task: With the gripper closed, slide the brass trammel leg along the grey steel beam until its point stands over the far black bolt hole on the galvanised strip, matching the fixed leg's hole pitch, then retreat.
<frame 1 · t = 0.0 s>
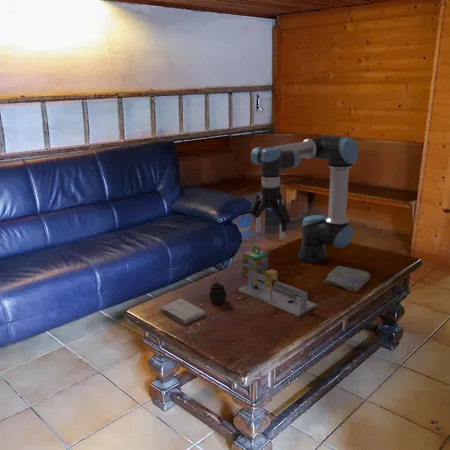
hand: (269, 234, 201), 28 cm above the table, fingers open, 13 cm apart
grey stone slab: (345, 282, 222), on the table
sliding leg: (271, 282, 205), point 7 cm above the table, slide at -3.0 cm
combination wrench: (282, 295, 208), resting on trammel beam
washcloth: (182, 314, 194), on the table
mate gourd: (217, 301, 204), on the table
trammel beam: (276, 298, 205), on the table
chalk box: (255, 275, 230), on the table
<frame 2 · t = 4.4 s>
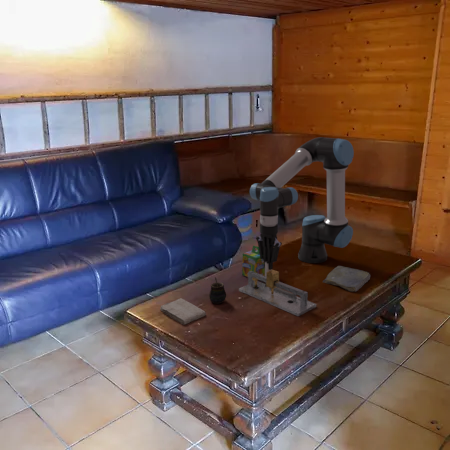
hand: (268, 275, 206), 9 cm above the table, fingers closed
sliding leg: (272, 282, 205), point 7 cm above the table, slide at -2.1 cm, touching gripper
everything else where it was.
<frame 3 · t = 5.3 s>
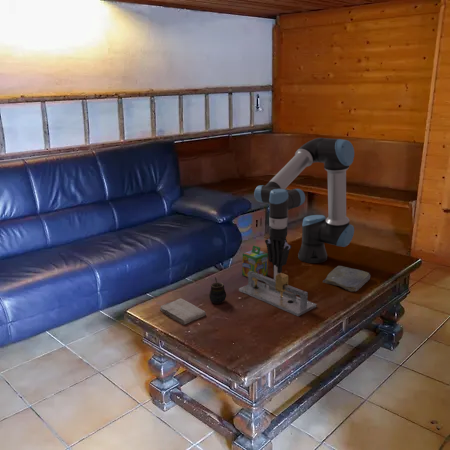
hand: (277, 278, 202), 9 cm above the table, fingers closed
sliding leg: (281, 286, 201), point 7 cm above the table, slide at 3.1 cm, touching gripper
everything else where it was.
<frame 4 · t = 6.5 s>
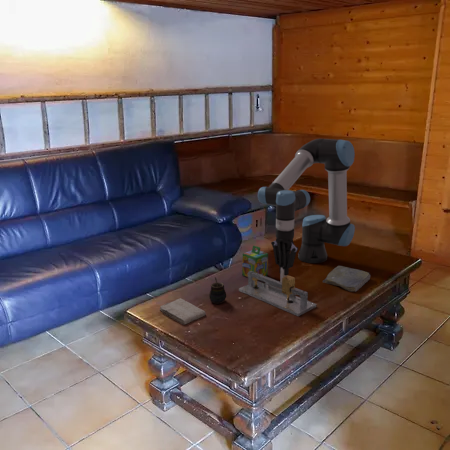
hand: (283, 281, 200), 9 cm above the table, fingers closed
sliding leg: (288, 289, 199), point 7 cm above the table, slide at 6.7 cm, touching gripper
everything else where it was.
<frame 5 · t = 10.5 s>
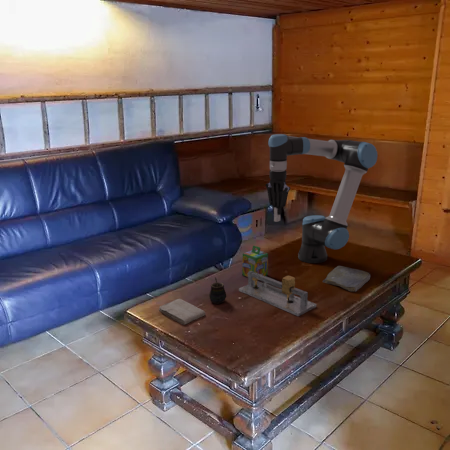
hand: (277, 220, 215), 29 cm above the table, fingers closed
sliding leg: (288, 289, 199), point 7 cm above the table, slide at 6.7 cm
at the end: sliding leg slide at 6.7 cm; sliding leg touching nothing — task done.
